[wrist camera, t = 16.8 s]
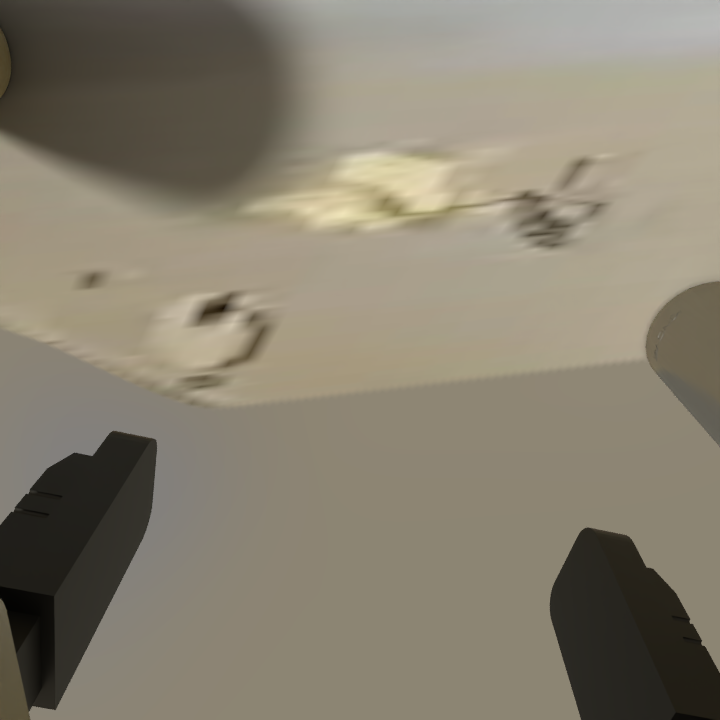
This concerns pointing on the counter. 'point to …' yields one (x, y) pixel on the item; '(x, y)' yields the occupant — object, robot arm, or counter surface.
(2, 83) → the plant pot
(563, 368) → the counter surface
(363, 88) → the counter surface
